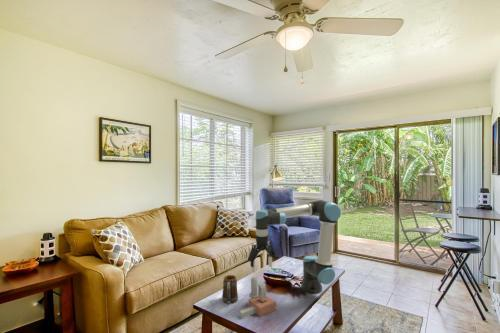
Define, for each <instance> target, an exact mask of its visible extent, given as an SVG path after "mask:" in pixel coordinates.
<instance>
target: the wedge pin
mask: <svg viewBox="0 0 500 333" xmlns="http://www.w3.org/2000/svg"><path fill="white" fill-rule="evenodd" d="M266 285H267V284H266V283H265V282H262V283H258V284H257V293H258V302H260V303H261V304H262V303H264V302H266V296H267V294H266V293H267V292H266V289H267V288H266V287H267V286H266Z"/></svg>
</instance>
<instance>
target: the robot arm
mask: <svg viewBox="0 0 500 333" xmlns="http://www.w3.org/2000/svg"><path fill="white" fill-rule="evenodd" d="M341 215H342V211H341V207H340V206H339V205H338V204H336V203H335V202H331V201H326V200H315V201H309V202H305V203H304V204H299V205H292V206H285V207H278V208H272V209H271V208H270V209H269V208H265V209H258V210H257V211H256V212H255V243H256V244H254V243H252V244H251V249H250V253H249V255H248V258H247V261H248V262H250V267H251V273H256V258H257V257H258V255H259V254H260V253H261V252H262V251H265V252H266V253H267V254H268V267H269V268H270V269H272V268H273V262H274V257H275V256H276V251H275V250H274V247H273V245H272V241H270V240H269V226H277V225H280V226H281V225H285V223H286V222H287V219H288V218H296V217H302V216H309V217H310V216H311V217H312V216H314V217H318V222H319V223H320V227H319V239H318V249H317V256H316V255H307V256H304V257H303V260H302V263H303V264H302V270H303V271H302V273H303V274H302V276H303V277H302V281H301V284H300V289H301V290H302V291H303V292H305V293H308V294H319V293H321V292H322V291H323V285H329V284H332V282H334V280H335V277H336V271H335V270H334V268H333V262H332V260H331V257H332V248H333V238H334V228H335V225H336V224H337V221H338V220H339V219H340V218H341Z"/></svg>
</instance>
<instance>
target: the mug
mask: <svg viewBox="0 0 500 333" xmlns="http://www.w3.org/2000/svg"><path fill="white" fill-rule="evenodd" d="M222 284H223V285H222V296H221V300H222V302H223V303H225V304H227V305H231V304H235V303H237V301H238V300H239V299H238V298H239V295H238V282H237V277H236V275H234V274H227V275H225V276H224V277H223V281H222Z"/></svg>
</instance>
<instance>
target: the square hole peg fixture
mask: <svg viewBox="0 0 500 333" xmlns="http://www.w3.org/2000/svg"><path fill="white" fill-rule="evenodd" d="M250 281H251V282H250V283H251V284H250V286H251V287H250V290H251V291H250V292H249V297H250V298H249V299H248V307H246V308H243V309H241V310H239V312H238V313H239V314H238V317H239V318H241V319H245V318H247V317H249V316H251V315H254V314H257V315H258V316H259V317H263V316H265V315H267V314H270V313H272V312H274V311H276V310H277V309H276V308H277V306H276V301H275V300H273V299H272V298H270V297H269V296H267V295H266V302H264V303H262V304H261V303H260V302H258V277H257V276H254V277H251V278H250Z"/></svg>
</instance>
